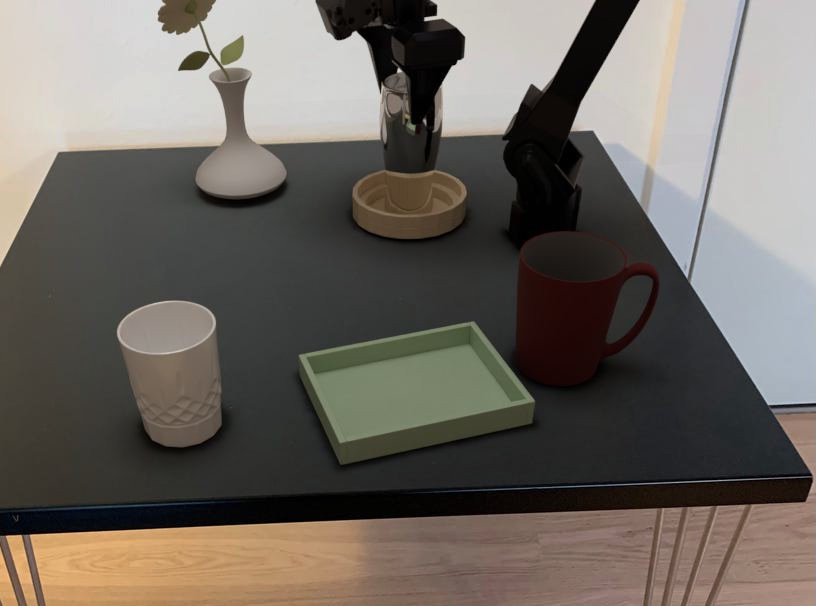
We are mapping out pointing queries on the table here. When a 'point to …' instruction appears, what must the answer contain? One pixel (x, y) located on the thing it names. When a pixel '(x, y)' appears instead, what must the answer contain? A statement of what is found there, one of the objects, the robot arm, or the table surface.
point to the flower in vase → (238, 154)
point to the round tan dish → (444, 219)
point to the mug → (571, 305)
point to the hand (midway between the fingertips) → (400, 109)
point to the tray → (413, 391)
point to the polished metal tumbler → (408, 149)
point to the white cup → (174, 370)
